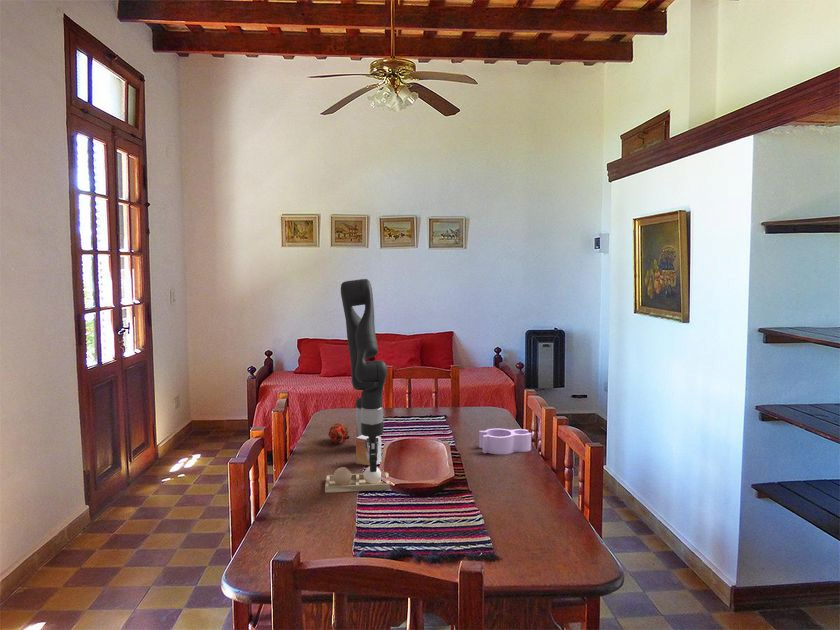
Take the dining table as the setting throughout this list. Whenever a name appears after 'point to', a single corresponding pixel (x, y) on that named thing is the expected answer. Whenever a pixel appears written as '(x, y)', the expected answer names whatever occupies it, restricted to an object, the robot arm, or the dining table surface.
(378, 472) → the white ball
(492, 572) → the dining table surface
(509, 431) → the lavender double cup holder
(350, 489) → the beige divided tray
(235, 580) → the dining table surface
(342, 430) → the dragon fruit
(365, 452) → the small box
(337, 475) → the beige ball
